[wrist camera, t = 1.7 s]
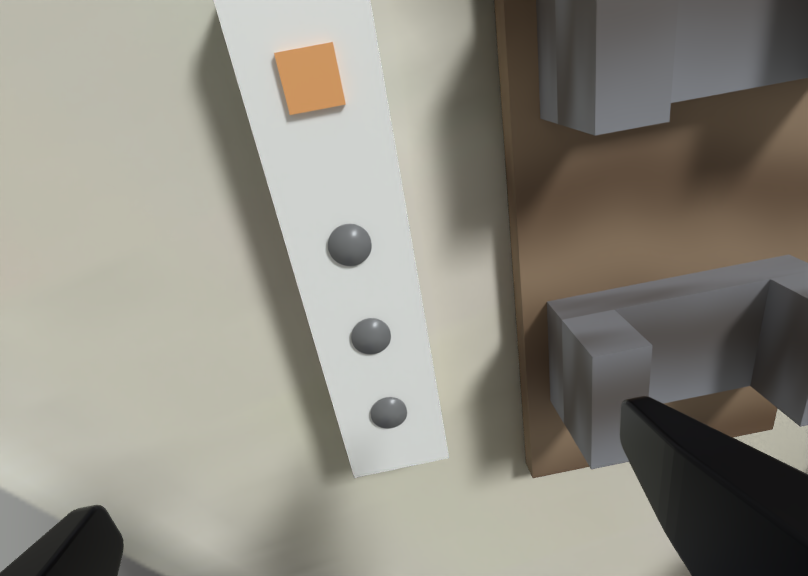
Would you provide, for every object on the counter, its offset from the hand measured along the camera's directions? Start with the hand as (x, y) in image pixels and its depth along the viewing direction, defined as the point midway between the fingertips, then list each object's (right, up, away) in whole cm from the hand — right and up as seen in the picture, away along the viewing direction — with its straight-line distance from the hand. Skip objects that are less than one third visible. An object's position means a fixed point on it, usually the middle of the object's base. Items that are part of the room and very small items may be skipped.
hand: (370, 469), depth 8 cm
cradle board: (+11, +7, +10) cm, 16 cm away
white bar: (-1, +5, +11) cm, 12 cm away
